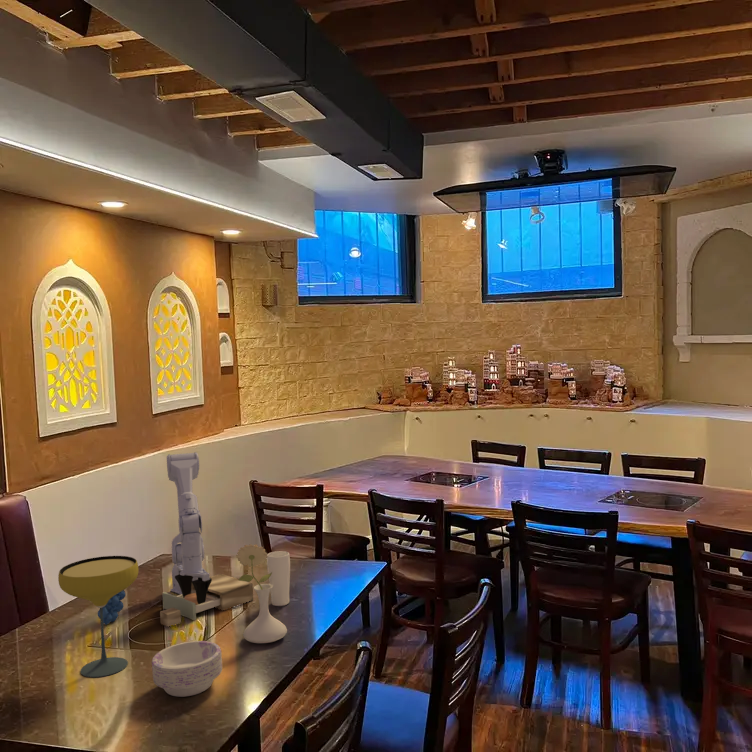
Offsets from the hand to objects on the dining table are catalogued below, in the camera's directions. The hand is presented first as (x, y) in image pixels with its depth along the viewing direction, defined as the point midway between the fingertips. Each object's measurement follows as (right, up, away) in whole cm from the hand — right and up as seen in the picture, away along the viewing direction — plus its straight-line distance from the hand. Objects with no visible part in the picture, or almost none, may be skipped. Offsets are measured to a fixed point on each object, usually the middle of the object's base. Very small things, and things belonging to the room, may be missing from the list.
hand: (194, 600), depth 215 cm
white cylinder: (+25, -2, +1) cm, 25 cm away
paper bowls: (+12, -4, -51) cm, 53 cm away
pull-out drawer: (0, -2, 0) cm, 2 cm away
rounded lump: (0, -1, 0) cm, 1 cm away
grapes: (-22, -4, -7) cm, 24 cm away
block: (-4, -3, -11) cm, 12 cm away
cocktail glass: (-12, -5, -39) cm, 41 cm away
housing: (+7, -2, +7) cm, 10 cm away
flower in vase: (+24, -3, -25) cm, 35 cm away
